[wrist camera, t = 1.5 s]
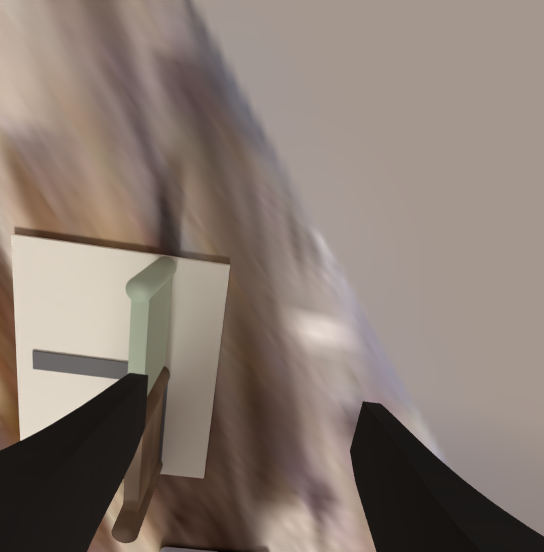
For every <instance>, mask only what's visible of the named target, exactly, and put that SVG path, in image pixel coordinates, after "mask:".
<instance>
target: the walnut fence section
mask: <svg viewBox="0 0 544 552" xmlns="http://www.w3.org/2000/svg"><path fill="white" fill-rule="evenodd" d="M169 379H170V372H169V370H168V369H167V368H166V367H165V366H164V367H163V369H162V370H161V372H160V374H159V376H158V378H157V380H156V382H155V383H154V385H153V387H152V389H151V391H150V393H149V394H148V396H147V407H146V424H145V429H144V432H143V435H142V437H141V440H140V443H139V446H138V448H137V451H136V453H135V456H134V458H133V460H132V462H131V464H130V466H129V468H128V470H127V472H126V474H125V480H124V500H123V506H122V508H121V510H120V513H119V515H118V517H117V520H116V522H115V524H114V526H113V529H112V536H113V537H114V538H115V539H116V540H117V541H119V542H122V543H130V542H133V541H135V540H136V539H137V537H138V534H139V531H140V528H141V526H142V523H143V520H144V517H145V514H146V512H147V509H148V506H149V503H150V500H151V498H152V495H153V492H154V489H155V486H156V484H157V481H158V478H159V475H160V472H161V470H162V467H163V463H162V461H160V460H159V459H158V457H159V444H160V432H161V419H162V407H163V394H164V390H165V387H166V385H167V383H168V381H169Z"/></svg>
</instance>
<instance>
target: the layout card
mask: <svg viewBox="0 0 544 552" xmlns="http://www.w3.org/2000/svg"><path fill="white" fill-rule="evenodd" d="M11 244H12V266H13V288H14V310H15V333H16V355H17V377H18V399H19V421H20V441H21V440H23V439H25V438H27V437H29V436H31V435H33V434H35V433H37V432H38V431H40V430H42V429H44V428H46V427H48V426H49V425H51V424H53V423H54V422H56V421H58V420H59V419H61V418H62V417H64V416H66V415H67V414H69V413H71V412H72V411H74V410H76V409H77V408H79V407H80V406H82V405H83V404H85V403H86V402H88V401H89V400H91V399H92V398H94V397H95V396H97V395H98V394H100V393H101V392H102V391H104V390H105V389H107V388H108V387H110V386H111V385H112V384H114V383H115V382H117V381H118V380H120V379H121V378H123V377H124V376H125V375H127V374H128V357H129V336H130V315H131V299H130V298H129V297H128V295H127V293H126V284H127V282H128V281H129V280H130V279H131V278H133V277H134V276H135V275H137V274H138V273H139V272H141V271H142V270H143V269H145V268H146V267H147V266H149V265H150V264H151V263H153V262H154V261H155V260H157V259H158V258H160V257H162V256H168V255H161V254H154V253H147V252H140V251H133V250H126V249H119V248H112V247H105V246H98V245H91V244H84V243H77V242H70V241H63V240H56V239H49V238H42V237H35V236H28V235H21V234H11ZM168 257H170V258H172V259H173V260H174V261H175V263H176V272H175V273H174V274H173V275H172V284H171V297H170V310H169V322H168V335H167V347H166V360H165V365H164V366H165V367H166V368H167V369H168V370H169V372H170V379H169V381H168V383H167V385H166V387H165V390H164V394H163V407H162V419H161V432H160V444H159V457H158V459H159V460H160V461H162V463H163V467H162V470H161V472H160V474H166V475H175V476H184V477H194V478H203V479H204V474H205V466H206V458H207V450H208V442H209V433H210V425H211V417H212V409H213V401H214V393H215V385H216V377H217V369H218V361H219V353H220V345H221V337H222V329H223V321H224V313H225V305H226V297H227V288H228V280H229V272H230V264H224V263H217V262H210V261H203V260H196V259H189V258H182V257H175V256H168Z"/></svg>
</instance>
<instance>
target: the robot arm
mask: <svg viewBox="0 0 544 552" xmlns="http://www.w3.org/2000/svg"><path fill="white" fill-rule="evenodd" d="M147 390H148V375H144V374H136V373H128V374H127V375H125V376H124V377H123V378H121V379H120V380H118V381H117V382H115V383H114V384H112V385H111V386H110V387H108V388H107V389H105V390H104V391H102V392H101V393H100V394H98V395H97V396H95V397H94V398H92V399H91V400H89V401H88V402H86V403H85V404H83V405H82V406H80V407H79V408H77V409H76V410H74V411H72V412H71V413H69V414H67V415H66V416H64V417H62V418H61V419H59V420H58V421H56V422H54V423H53V424H51V425H49V426H48V427H46V428H44V429H42V430H40V431H38V432H37V433H35V434H33V435H31V436H29V437H27V438H25V439H23V440H21V441H19V442H17V443H15V444H13V445H11V446H9V447H7V448H5V449H3V450H1V451H0V552H87V550H88V548H89V545H90V543H91V541H92V539H93V537H94V535H95V533H96V531H97V528H98V526H99V524H100V523H101V521H102V519H103V517H104V515H105V513H106V511H107V509H108V507H109V505H110V503H111V501H112V499H113V497H114V495H115V493H116V492H117V490H118V488H119V486H120V484H121V482H122V480H123V478H124V476H125V474H126V472H127V470H128V468H129V466H130V464H131V462H132V460H133V458H134V456H135V453H136V451H137V448H138V446H139V443H140V440H141V437H142V435H143V432H144V429H145V424H146V407H147ZM350 454H351V460H352V466H353V472H354V477H355V482H356V486H357V489H358V492H359V496H360V499H361V502H362V506H363V509H364V512H365V516H366V519H367V522H368V525H369V529H370V532H371V535H372V539H373V542H374V545H375V548H376V552H544V536H542V535H540V534H539V533H537V532H536V531H534V530H533V529H531V528H529V527H528V526H526V525H525V524H523V523H522V522H520V521H519V520H517V519H516V518H514V517H513V516H511V515H510V514H509V513H507V512H506V511H504V510H503V509H501V508H500V507H499V506H497V505H496V504H494V503H493V502H491V501H490V500H489V499H487V498H486V497H485V496H484V495H482V494H481V493H480V492H478V491H477V490H476V489H474V488H473V487H472V486H471V485H469V484H468V483H467V482H465V481H464V480H463V479H462V478H461V477H459V476H458V475H457V474H456V473H455V472H453V471H452V470H451V469H450V468H449V467H448V466H446V465H445V464H444V463H443V462H442V461H441V460H440V459H438V458H437V457H436V456H435V455H434V454H433V453H432V452H431V451H430V450H429V449H428V448H426V447H425V446H424V445H423V444H422V443H421V442H420V441H419V440H418V439H417V438H416V437H415V436H414V435H413V434H412V433H411V432H410V431H409V430H408V429H407V428H406V427H405V426H404V425H403V424H402V423H401V422H400V421H399V420H398V419H396V418H395V417H394V416H393V415H392V414H391V413H390V412H389V411H388V410H387V409H386V408H385V407H384V406H383V405H382V404H380V403H371V402H363V403H362V407H361V411H360V415H359V418H358V422H357V426H356V430H355V434H354V437H353V441H352V445H351V449H350ZM160 552H216V551H205V550H195V549H184V548H174V547H164V548H162V549H161V550H160Z"/></svg>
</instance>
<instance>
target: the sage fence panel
mask: <svg viewBox="0 0 544 552" xmlns="http://www.w3.org/2000/svg"><path fill="white" fill-rule="evenodd" d="M175 272H176V263H175V261H174V260H173V259H172V258H170V257H168V256H162V257H160V258H158V259H157V260H155V261H154V262H153V263H151V264H150V265H149V266H147V267H146V268H145V269H143V270H142V271H141V272H139V273H138V274H137V275H135V276H134V277H133V278H131V279H130V280H129V281H128V282H127V284H126V293H127V295H128V297H129V298H130V299H131V315H130V336H129V357H128V373H136V374H144V375H148V390H147V396H148V394H149V393H150V391H151V389H152V387H153V385H154V383H155V382H156V380H157V378H158V376H159V374H160V372H161V370H162V369H163V367H164V365H165V360H166V347H167V335H168V322H169V310H170V297H171V284H172V275H173V274H174V273H175Z"/></svg>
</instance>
